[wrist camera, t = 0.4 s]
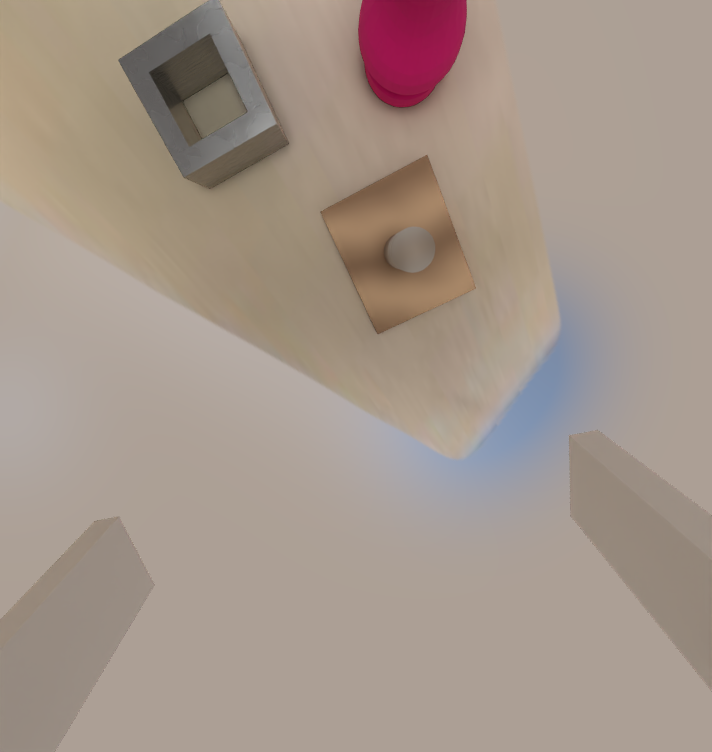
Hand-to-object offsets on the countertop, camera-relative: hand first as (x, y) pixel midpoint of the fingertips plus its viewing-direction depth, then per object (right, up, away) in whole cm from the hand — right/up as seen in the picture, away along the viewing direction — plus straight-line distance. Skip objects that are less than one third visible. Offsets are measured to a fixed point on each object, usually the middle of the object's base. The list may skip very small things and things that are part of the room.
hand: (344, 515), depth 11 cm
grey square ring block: (-11, +26, +20) cm, 34 cm away
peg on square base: (+4, +16, +23) cm, 28 cm away
